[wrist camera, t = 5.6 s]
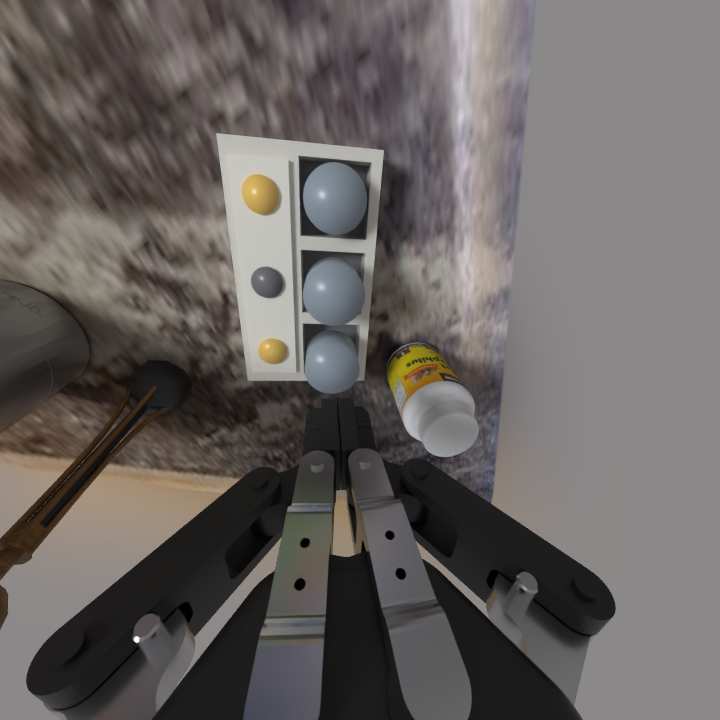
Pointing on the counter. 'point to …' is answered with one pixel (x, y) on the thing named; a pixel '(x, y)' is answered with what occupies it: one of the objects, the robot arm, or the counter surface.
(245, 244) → the card
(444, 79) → the counter surface
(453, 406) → the supplement bottle
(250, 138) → the button board
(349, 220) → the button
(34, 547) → the wooden tabletop sculpture
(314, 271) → the button middle
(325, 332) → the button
